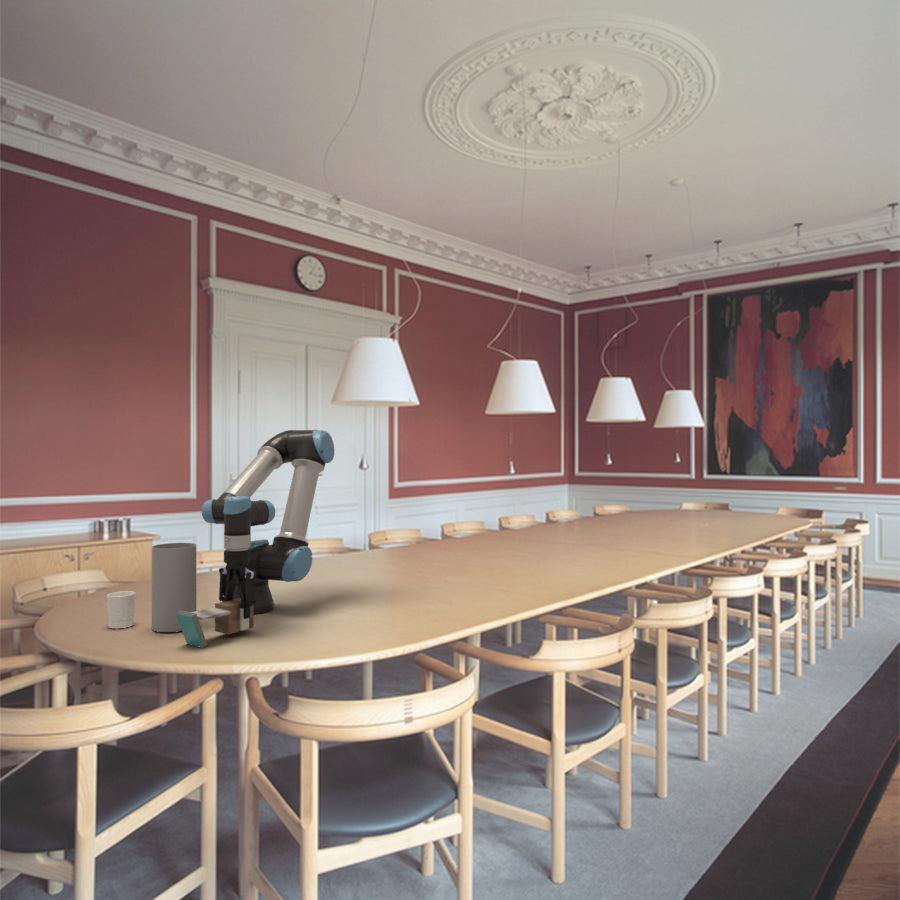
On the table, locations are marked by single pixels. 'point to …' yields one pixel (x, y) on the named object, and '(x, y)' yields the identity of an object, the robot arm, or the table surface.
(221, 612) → the wood block with tab
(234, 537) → the robot arm
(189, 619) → the tile
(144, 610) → the table surface
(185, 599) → the cylinder vase
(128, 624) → the white cup
